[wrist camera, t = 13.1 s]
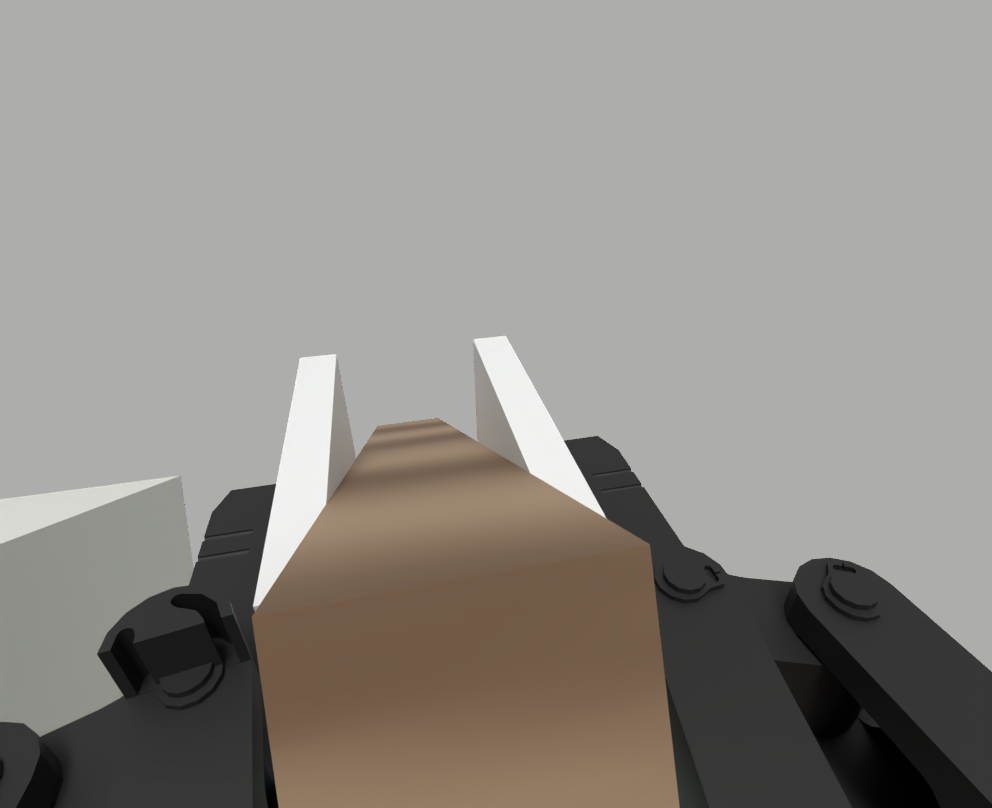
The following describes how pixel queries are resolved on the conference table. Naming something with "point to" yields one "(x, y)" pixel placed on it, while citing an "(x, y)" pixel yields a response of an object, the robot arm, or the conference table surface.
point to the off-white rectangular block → (79, 589)
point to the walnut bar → (463, 642)
